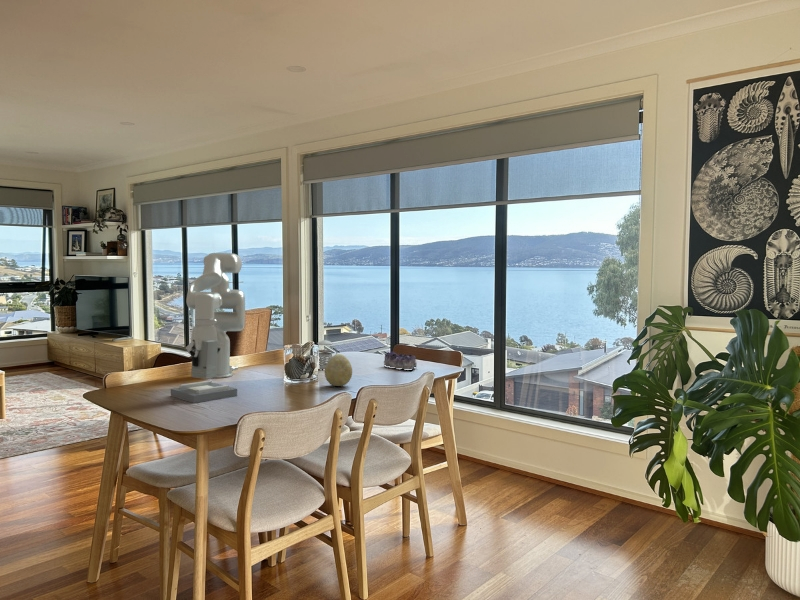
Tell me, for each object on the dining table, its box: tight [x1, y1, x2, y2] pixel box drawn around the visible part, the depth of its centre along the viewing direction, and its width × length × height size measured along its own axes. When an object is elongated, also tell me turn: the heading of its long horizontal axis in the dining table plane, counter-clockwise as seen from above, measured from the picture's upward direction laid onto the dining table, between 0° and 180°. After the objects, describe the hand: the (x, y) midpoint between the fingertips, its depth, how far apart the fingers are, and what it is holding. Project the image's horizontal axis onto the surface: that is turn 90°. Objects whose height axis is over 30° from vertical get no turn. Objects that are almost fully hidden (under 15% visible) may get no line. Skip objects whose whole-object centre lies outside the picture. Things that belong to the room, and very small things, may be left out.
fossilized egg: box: [324, 353, 353, 387], centre depth 284 cm, size 13×13×15 cm
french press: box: [317, 321, 338, 369], centre depth 331 cm, size 10×12×25 cm
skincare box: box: [190, 340, 218, 380], centre depth 257 cm, size 8×7×16 cm
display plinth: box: [170, 380, 238, 404], centre depth 258 cm, size 20×18×4 cm
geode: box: [383, 350, 417, 370], centre depth 338 cm, size 20×12×10 cm, turn 59°
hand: (204, 364), depth 257 cm, fingers closed on skincare box, 7 cm apart
